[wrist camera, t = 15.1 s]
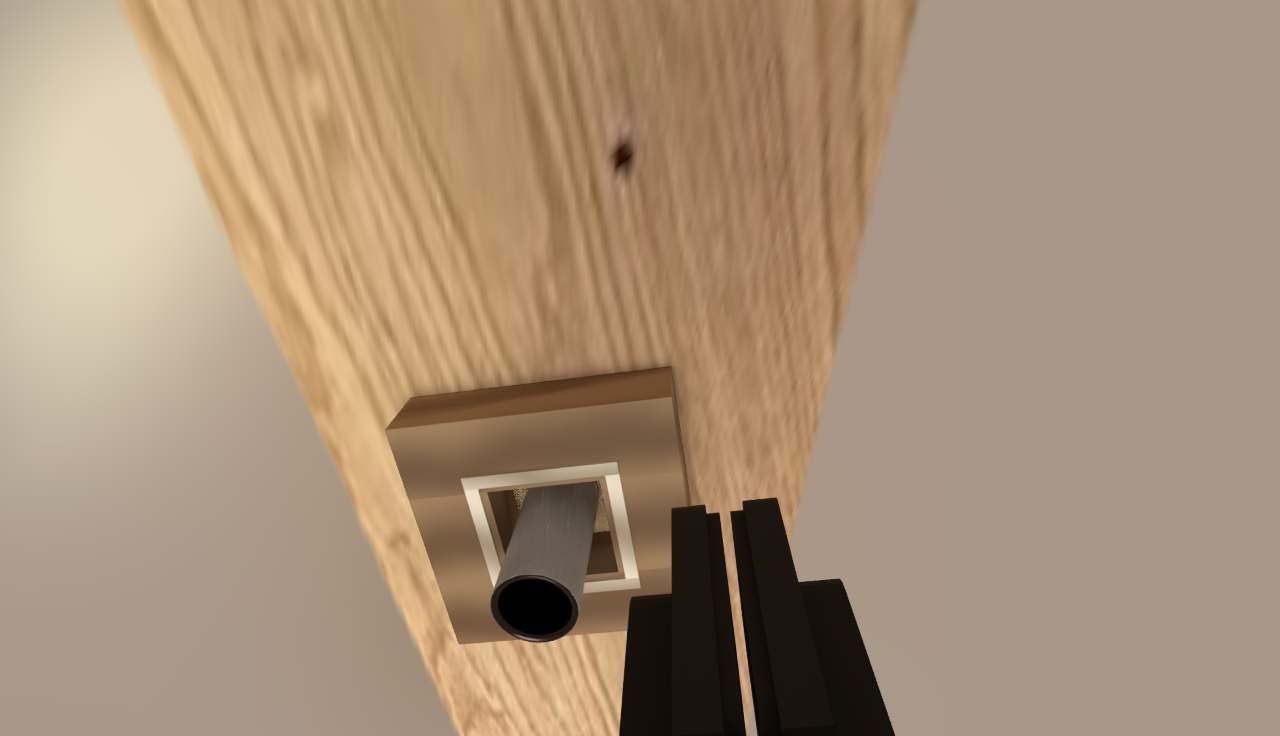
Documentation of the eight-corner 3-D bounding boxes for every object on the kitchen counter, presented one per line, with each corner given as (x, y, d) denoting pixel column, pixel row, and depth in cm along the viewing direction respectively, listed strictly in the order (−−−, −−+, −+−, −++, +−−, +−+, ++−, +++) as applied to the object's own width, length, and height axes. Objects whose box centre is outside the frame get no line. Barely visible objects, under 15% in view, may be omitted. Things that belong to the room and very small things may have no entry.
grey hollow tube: (524, 463, 42) (481, 577, 32) (594, 459, 42) (572, 573, 32) (535, 522, 44) (498, 645, 34) (603, 518, 43) (584, 642, 34)
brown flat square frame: (410, 398, 40) (383, 431, 36) (671, 366, 39) (671, 398, 35) (475, 599, 47) (457, 646, 43) (701, 579, 45) (704, 626, 41)
